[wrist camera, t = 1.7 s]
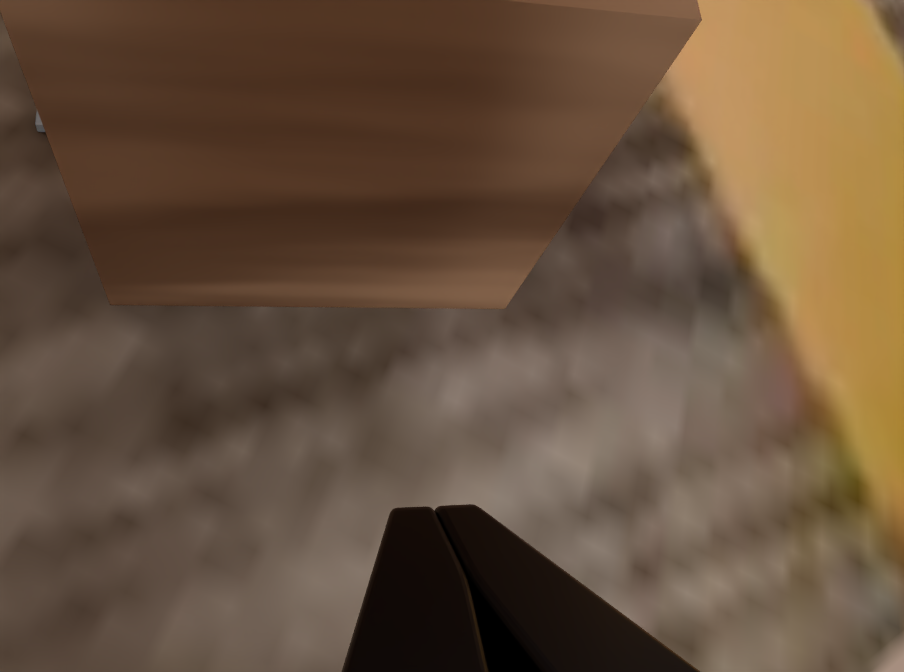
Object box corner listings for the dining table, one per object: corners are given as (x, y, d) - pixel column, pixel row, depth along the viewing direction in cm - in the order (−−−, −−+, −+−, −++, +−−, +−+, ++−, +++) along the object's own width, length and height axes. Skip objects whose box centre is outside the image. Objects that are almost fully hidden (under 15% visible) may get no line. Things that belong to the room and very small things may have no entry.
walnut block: (504, 309, 23) (702, 20, 13) (110, 305, 20) (-24, -52, 10) (489, 181, 24) (656, -167, 14) (119, 164, 22) (10, -268, 12)
